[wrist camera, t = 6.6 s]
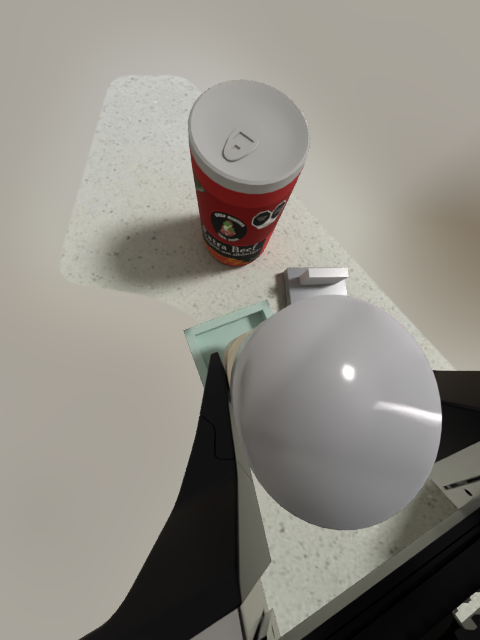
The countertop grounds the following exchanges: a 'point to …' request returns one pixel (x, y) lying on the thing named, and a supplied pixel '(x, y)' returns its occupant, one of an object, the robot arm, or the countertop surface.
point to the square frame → (223, 333)
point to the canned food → (244, 164)
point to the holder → (314, 282)
